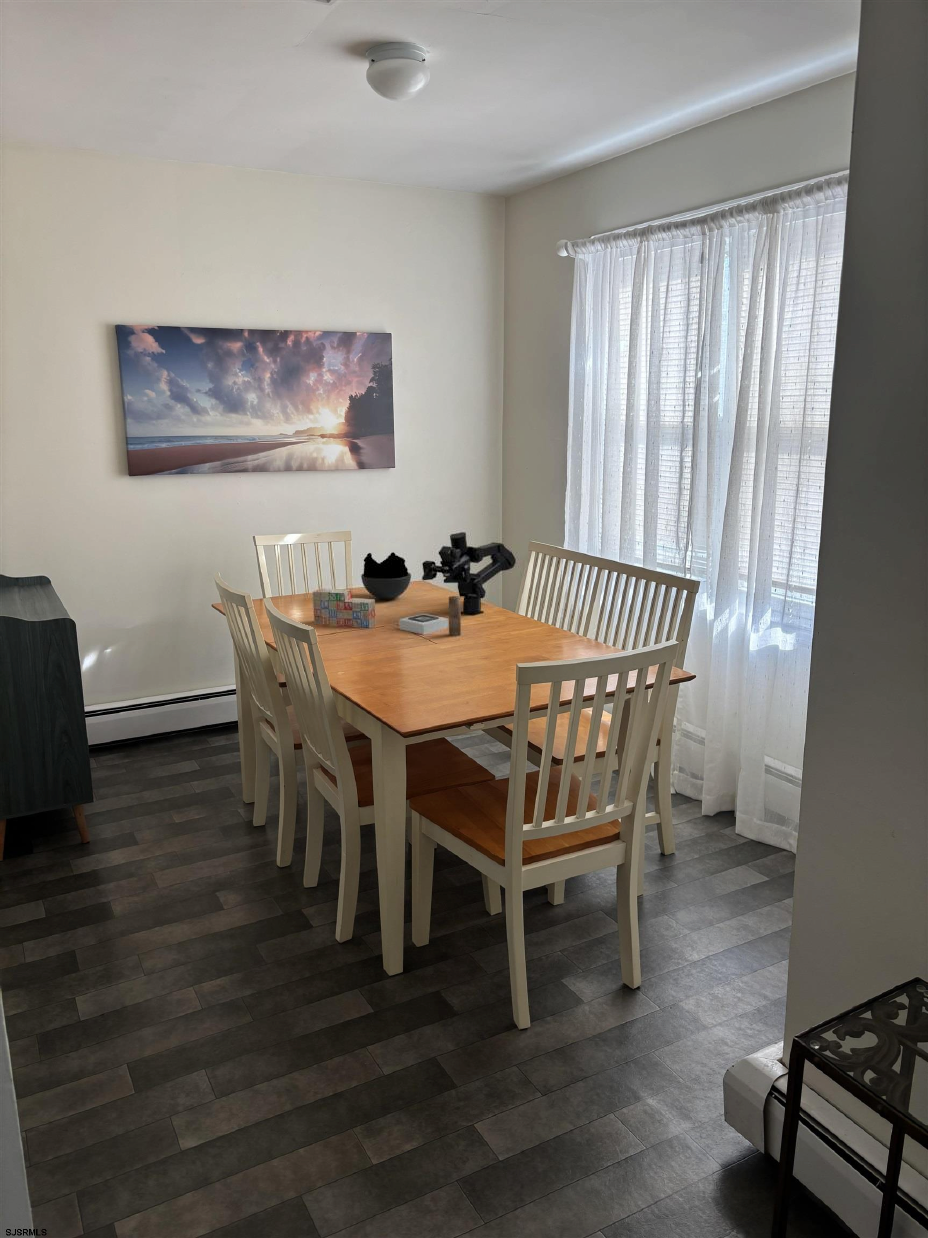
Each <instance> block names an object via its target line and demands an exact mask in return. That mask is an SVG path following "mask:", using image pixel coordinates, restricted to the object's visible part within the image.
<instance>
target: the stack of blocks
mask: <svg viewBox="0 0 928 1238" xmlns="http://www.w3.org/2000/svg"><path fill="white" fill-rule="evenodd" d="M375 603H376V601H375V599H372V598H371V599H370V598H357V597H355V598H354V597H353V598H352V589H343V588H342V589H340V588H318V589H316V590H313V591H312V607H313V621H314V622H313V623H314V625H316V624H321V626H329V625H330V626H332V627H348V628H363V629H369V628H372V627H373V626H375V625H376V609H375V608H376V604H375Z"/></svg>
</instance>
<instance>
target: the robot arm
mask: <svg viewBox="0 0 928 1238" xmlns="http://www.w3.org/2000/svg"><path fill="white" fill-rule="evenodd" d="M466 533H467V532H465V531H464V532H462V531H461V532H456V533H451V534H450V535H449V538H450V546H447V545H446V546H445V545H443V546H441V548H440V550H439V551H438V555H439V556H440V562H439V563H440V565H437V564H436V562H435V561H433V560H425V561H423V562H422V564H421V565H422V571H423V575H422V576H421V580H422V581H430V580H431V581H432V580H434V579H436V578H437V575H438V573H440V574H441V573H442V576H443V578H444V579H443V583H444V584H457V591H458V596H459V597H463V603H462V609H463V610H462V611H461V614H465V615H470V616H476V615H478V614H482V613H484V612H485V611H484V610H482V608H481V607H482V599H484V598H485V597H486V594H487V593H486V592H487V591H486V589H485V588H484V587H483V585H484V584H486V583H487V582H488V581H490V580H491V579H492V578H494V577H495V576H496V575H498V574H499V573H500V572H504V571H510V570H511V569H513V568H514V567H515V566H516V564H517V563H516V562H517V561H516V557H515V556H514V554H513V552H512V551H511V550H510V549H508V548H507V547H506V546H505V545H504V544H503V543H502V542H490V543H487V544H484V545H483V544H482V545H480V546H476V547H475V546H469V545H468V544H467V534H466ZM486 557H490V560H491V562H490V563H489V564H487V565H486V566H485V567H483V568H481V570H479V571H478V572H476V573H472V572H471V564H479V563H480V562H482V561H483V560H484V558H486Z"/></svg>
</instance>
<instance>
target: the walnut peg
mask: <svg viewBox="0 0 928 1238" xmlns="http://www.w3.org/2000/svg"><path fill="white" fill-rule="evenodd" d="M461 602H462V601H461V597H460V595H456V596H455V595H452V596H448V635H449V636H450V637H459V636H461V634H462V633H461V630H462V629H461V625H462V623H461V622H462V621H461V619H462V617H461V615H462V613H461V609H462V608H461V607H462V606H461V604H462V603H461Z"/></svg>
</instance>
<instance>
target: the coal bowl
mask: <svg viewBox="0 0 928 1238" xmlns="http://www.w3.org/2000/svg"><path fill="white" fill-rule="evenodd" d="M363 562H364V563H363V573H361V575H360V577H361V581H362V584H363V587H364V588H365V590H366V591H367V592H368V593H369V594H370V595H371V596H373V597H375V598H376V599H379V600H392V599H395V598H398V597H399V596H402V595H403V594H404V592H405V591H406V590H407V589H408V587H409V585H410V582H411V579H412V574H411V573H410V572H409V569H408V567H407V566H406V560H405V558H404V557H400V556H399V555H397V554H396V553H395V552H390V554H389V555H388V556H387V557H385V559H383V560H382V561H381V562H378V561H376V560H375V559H374V558H373V554H372V553H371V552H369V553H367V554H366V556H365V557H364V559H363Z"/></svg>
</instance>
